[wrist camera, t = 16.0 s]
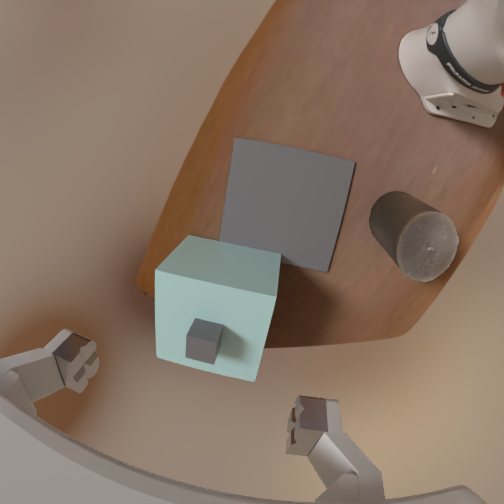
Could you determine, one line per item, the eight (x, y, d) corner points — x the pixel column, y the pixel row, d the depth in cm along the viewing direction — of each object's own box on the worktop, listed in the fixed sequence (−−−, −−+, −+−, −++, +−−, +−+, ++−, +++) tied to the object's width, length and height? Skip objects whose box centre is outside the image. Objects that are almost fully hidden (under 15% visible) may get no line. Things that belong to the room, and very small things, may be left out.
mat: (354, 162, 43) (355, 162, 42) (326, 271, 50) (327, 272, 49) (235, 137, 44) (235, 137, 43) (218, 249, 51) (217, 249, 50)
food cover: (281, 253, 49) (274, 314, 32) (263, 329, 55) (251, 400, 39) (188, 235, 50) (141, 283, 33) (183, 311, 56) (147, 373, 40)
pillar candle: (362, 201, 45) (391, 228, 31) (413, 183, 42) (458, 203, 28) (376, 254, 47) (405, 297, 34) (424, 236, 45) (466, 272, 31)
